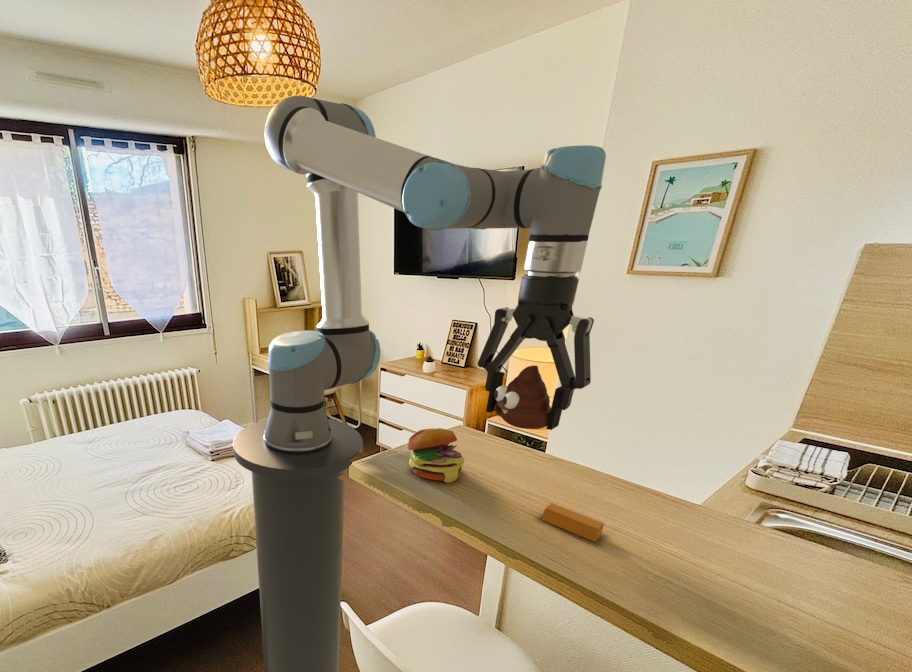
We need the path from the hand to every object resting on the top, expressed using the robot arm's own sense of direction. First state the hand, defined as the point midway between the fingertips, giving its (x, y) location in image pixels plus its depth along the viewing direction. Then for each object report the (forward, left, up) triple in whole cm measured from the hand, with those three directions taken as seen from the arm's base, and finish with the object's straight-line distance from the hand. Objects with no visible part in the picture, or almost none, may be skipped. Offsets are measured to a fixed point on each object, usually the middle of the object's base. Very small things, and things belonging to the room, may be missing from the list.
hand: (520, 418), depth 77 cm
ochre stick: (+12, -2, -15) cm, 19 cm away
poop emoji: (0, 0, 0) cm, 0 cm away
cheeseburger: (-14, -2, -15) cm, 21 cm away
